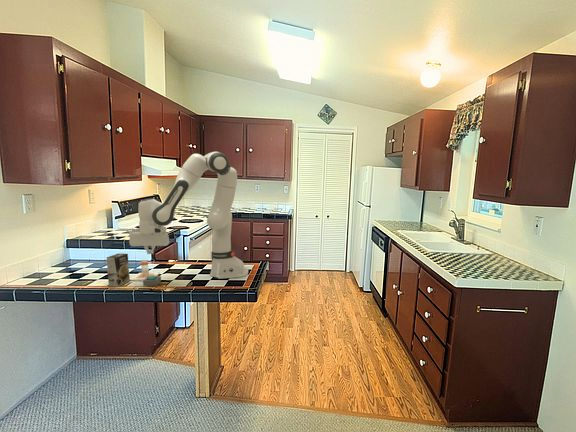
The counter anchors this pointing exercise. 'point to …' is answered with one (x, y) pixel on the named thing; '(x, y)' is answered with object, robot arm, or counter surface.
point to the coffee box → (118, 270)
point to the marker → (145, 268)
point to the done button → (152, 277)
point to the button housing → (152, 281)
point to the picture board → (141, 278)
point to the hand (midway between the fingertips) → (150, 253)
